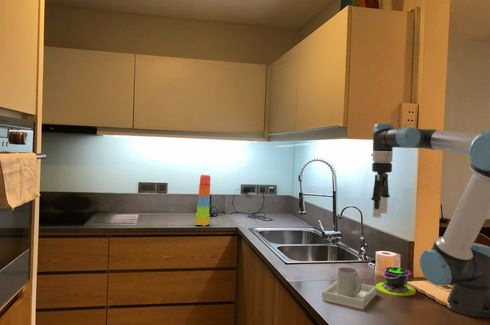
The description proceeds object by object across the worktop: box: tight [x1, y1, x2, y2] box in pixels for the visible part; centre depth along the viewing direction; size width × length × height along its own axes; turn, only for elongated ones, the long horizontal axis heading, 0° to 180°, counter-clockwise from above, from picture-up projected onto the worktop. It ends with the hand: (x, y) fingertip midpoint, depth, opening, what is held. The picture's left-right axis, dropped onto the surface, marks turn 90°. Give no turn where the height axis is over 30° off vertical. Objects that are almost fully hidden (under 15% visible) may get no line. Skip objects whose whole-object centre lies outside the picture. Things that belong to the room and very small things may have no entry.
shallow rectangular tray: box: [321, 280, 377, 310], centre depth 151 cm, size 15×18×3 cm
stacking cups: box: [195, 174, 211, 225], centre depth 281 cm, size 10×10×35 cm
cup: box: [336, 266, 363, 297], centre depth 150 cm, size 7×10×9 cm
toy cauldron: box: [375, 259, 416, 297], centre depth 162 cm, size 15×15×11 cm
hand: (380, 215), depth 165 cm, fingers open, 13 cm apart
